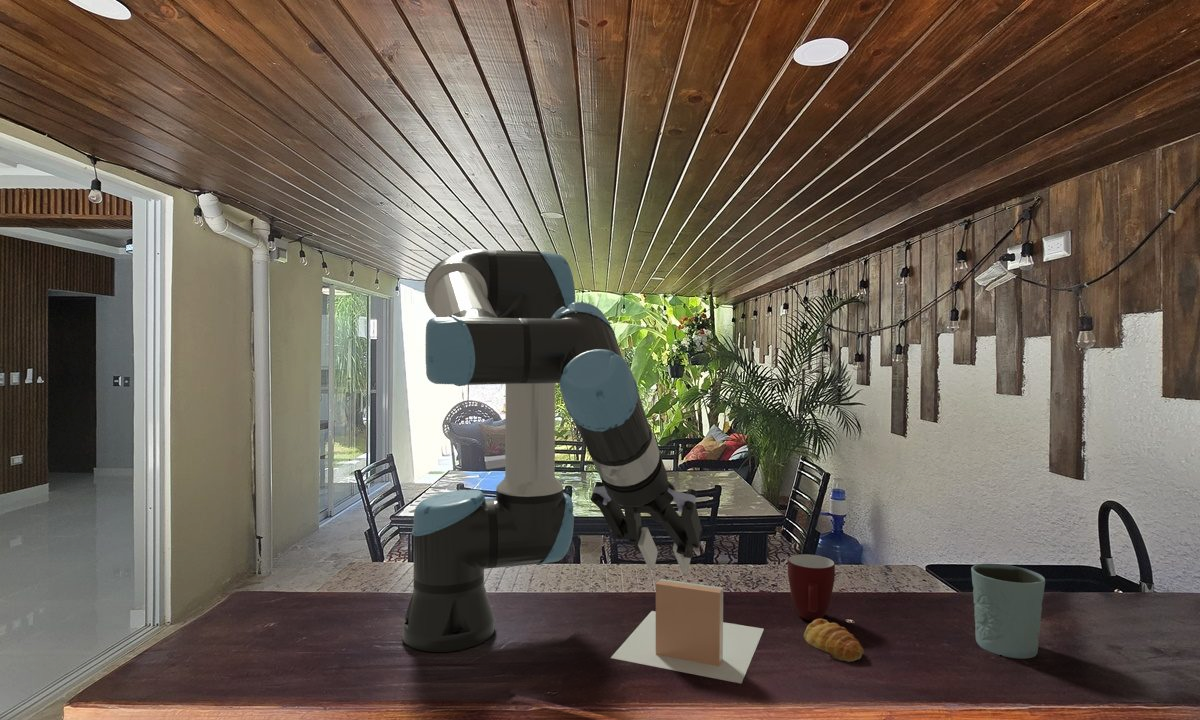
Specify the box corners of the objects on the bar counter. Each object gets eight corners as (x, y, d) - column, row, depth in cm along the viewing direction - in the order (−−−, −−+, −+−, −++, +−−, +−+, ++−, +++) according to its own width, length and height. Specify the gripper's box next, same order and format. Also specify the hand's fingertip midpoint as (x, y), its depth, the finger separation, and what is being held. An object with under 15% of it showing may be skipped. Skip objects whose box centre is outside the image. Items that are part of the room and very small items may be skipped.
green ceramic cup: (963, 646, 107) (963, 572, 107) (979, 627, 114) (980, 558, 114) (1037, 667, 100) (1038, 588, 100) (1049, 645, 107) (1050, 571, 107)
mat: (610, 661, 102) (610, 657, 102) (651, 614, 120) (651, 610, 120) (741, 687, 94) (741, 683, 94) (764, 632, 112) (764, 628, 112)
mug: (843, 632, 112) (843, 574, 112) (794, 630, 113) (794, 572, 113) (828, 608, 123) (829, 554, 122) (784, 606, 124) (784, 553, 123)
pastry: (874, 659, 103) (874, 634, 103) (843, 669, 100) (843, 643, 100) (828, 636, 111) (828, 613, 111) (798, 644, 108) (798, 621, 108)
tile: (655, 654, 103) (655, 583, 103) (660, 647, 105) (660, 578, 105) (719, 666, 99) (719, 593, 99) (722, 659, 101) (723, 587, 101)
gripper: (552, 483, 78) (605, 579, 93) (695, 496, 71) (727, 596, 87) (571, 433, 83) (619, 532, 98) (707, 440, 76) (735, 545, 91)
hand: (669, 562), depth 92 cm, fingers open, 4 cm apart
